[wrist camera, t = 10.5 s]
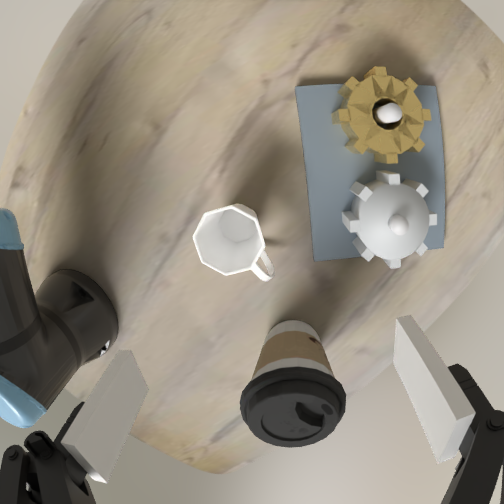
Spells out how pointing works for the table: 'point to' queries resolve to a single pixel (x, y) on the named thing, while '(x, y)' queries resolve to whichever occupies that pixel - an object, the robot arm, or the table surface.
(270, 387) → the coffee cup
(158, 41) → the table surface
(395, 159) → the brass gear
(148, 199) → the table surface
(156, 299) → the table surface
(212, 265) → the cup
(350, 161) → the gear board
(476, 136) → the table surface
